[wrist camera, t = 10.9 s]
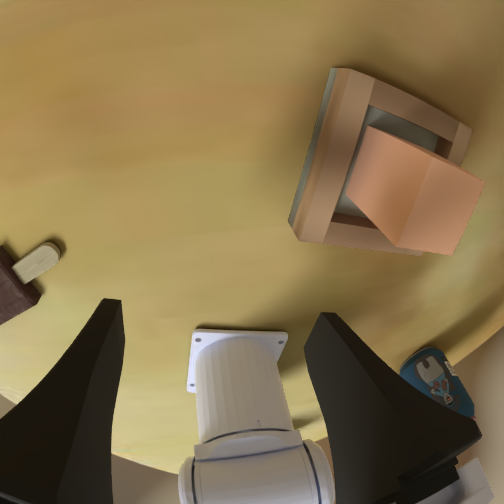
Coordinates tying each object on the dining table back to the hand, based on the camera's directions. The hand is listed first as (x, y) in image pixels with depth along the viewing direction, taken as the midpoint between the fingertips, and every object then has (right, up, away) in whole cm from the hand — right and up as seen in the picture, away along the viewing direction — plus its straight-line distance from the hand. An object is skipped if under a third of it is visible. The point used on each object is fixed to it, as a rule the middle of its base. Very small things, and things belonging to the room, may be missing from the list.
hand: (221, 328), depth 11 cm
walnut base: (+9, +8, +8) cm, 15 cm away
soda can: (+23, -12, +24) cm, 35 cm away
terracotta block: (+9, +8, +7) cm, 14 cm away
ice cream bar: (-19, +1, +8) cm, 21 cm away
